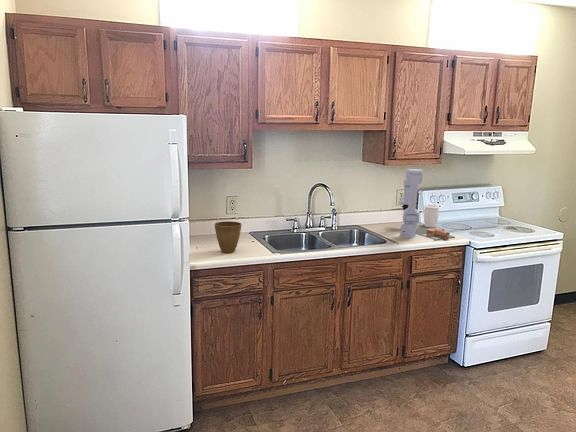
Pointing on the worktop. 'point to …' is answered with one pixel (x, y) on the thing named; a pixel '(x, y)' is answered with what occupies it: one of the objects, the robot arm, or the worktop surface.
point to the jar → (431, 215)
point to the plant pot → (228, 235)
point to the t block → (438, 233)
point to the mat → (423, 233)
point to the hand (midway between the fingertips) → (406, 215)
